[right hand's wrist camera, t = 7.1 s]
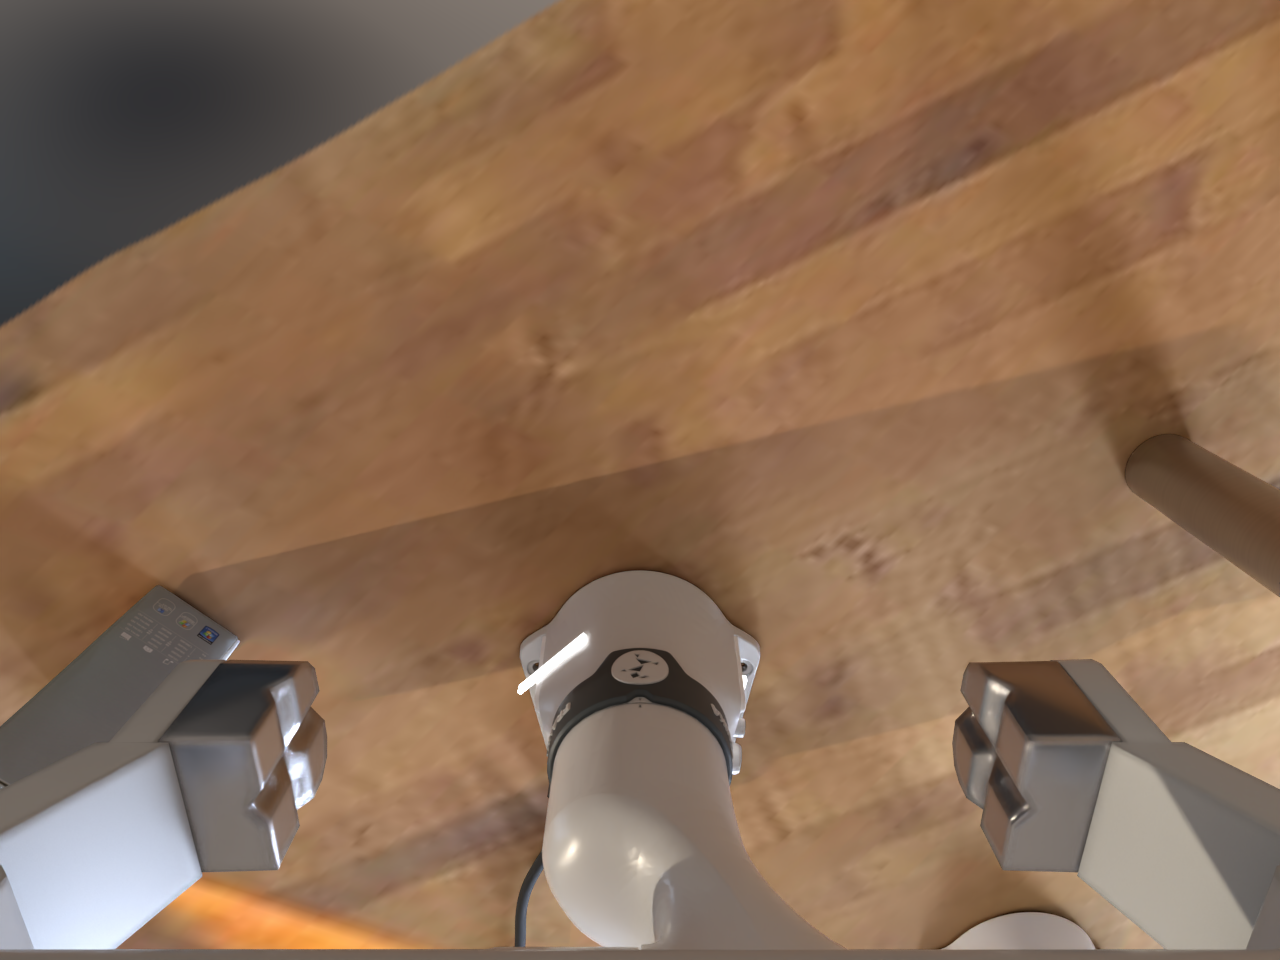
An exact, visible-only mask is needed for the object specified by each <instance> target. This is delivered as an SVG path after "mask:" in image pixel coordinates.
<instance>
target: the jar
mask: <svg viewBox="0 0 1280 960" xmlns="http://www.w3.org/2000/svg"><path fill="white" fill-rule="evenodd" d="M1125 478H1126V482H1127V485H1128V486H1129V488H1130V489H1131V491H1132V492H1133V493H1135V494H1136V495H1137V496H1139V497H1140V498H1142V499H1143V500H1144V501H1146V502H1147V503H1149V504H1150V505H1151V506H1153V507H1154V508H1156V509H1157V510H1158V511H1160V512H1161V513H1163V514H1164V515H1165V516H1167V517H1168V518H1170V519H1171V520H1172V521H1174V522H1175V523H1177V524H1178V525H1179V526H1181V527H1182V528H1184V529H1185V530H1186V531H1188V532H1189V533H1191V534H1192V535H1193V536H1195V537H1196V538H1198V539H1199V540H1200V541H1202V542H1203V543H1205V544H1206V545H1207V546H1209V547H1210V548H1212V549H1213V550H1214V551H1216V552H1217V553H1219V554H1220V555H1221V556H1223V557H1224V558H1226V559H1227V560H1228V561H1230V562H1231V563H1233V564H1234V565H1235V566H1237V567H1238V568H1240V569H1241V570H1242V571H1244V572H1245V573H1247V574H1248V575H1249V576H1251V577H1252V578H1254V579H1255V580H1256V581H1258V582H1259V583H1261V584H1262V585H1263V586H1265V587H1266V588H1268V589H1269V590H1270V591H1272V592H1273V593H1275V594H1276V595H1277V596H1279V597H1280V594H1279V593H1280V584H1279V583H1280V490H1279V489H1277V488H1275V487H1273V486H1272V485H1270V484H1268V483H1266V482H1264V481H1262V480H1261V479H1259V478H1257V477H1255V476H1253V475H1252V474H1250V473H1248V472H1246V471H1244V470H1242V469H1241V468H1239V467H1237V466H1235V465H1233V464H1231V463H1230V462H1228V461H1226V460H1224V459H1222V458H1220V457H1219V456H1217V455H1215V454H1213V453H1211V452H1209V451H1208V450H1206V449H1204V448H1202V447H1200V446H1198V445H1197V444H1195V443H1193V442H1191V441H1189V440H1187V439H1186V438H1184V437H1181V436H1179V435H1174V434H1165V435H1159V436H1156V437H1153V438H1151V439H1149V440H1147V441H1145V442H1144V443H1142V444H1141V445H1140V446H1139V447H1138V448H1137V449H1136V450H1135V451H1134V452H1133V453H1132V455H1131V456H1130V458H1129V460H1128V462H1127V465H1126V470H1125Z"/></svg>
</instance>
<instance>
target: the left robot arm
mask: <svg viewBox="0 0 1280 960" xmlns="http://www.w3.org/2000/svg"><path fill="white" fill-rule="evenodd" d="M978 949H1096V948H1095V947H1094V945H1093V943H1092V941H1091V939H1090V938H1089V936H1088V935H1087V934H1086V932H1085V931H1084V930H1083V929H1082V928H1080V927H1079V926H1078V925H1076V924H1075V923H1073V922H1072V921H1070V920H1068V919H1065V918H1063V917H1060V916H1057V915H1053V914H1047V913H1040V912H1021V913H1013V914H1007V915H1003V916H999V917H996V918H993V919H990V920H987V921H985V922H983V923H981V924H979V925H977V926H975V927H973V928H971V929H970V930H968V931H967V932H965V933H964V934H963V935H961V936H960V937H959V938H958V939H957V940H955V941H954V942H953V943H951V944H950V945H949V946H947V947H945V948H942V949H940V950H978Z"/></svg>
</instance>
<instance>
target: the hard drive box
mask: <svg viewBox="0 0 1280 960" xmlns="http://www.w3.org/2000/svg"><path fill="white" fill-rule="evenodd" d="M237 638H238V637H237V636H236V635H234V634H232V633H231V632H230V631H228V630H227V629H225V628H224V627H222V626H220V625H219V624H217V623H216V622H214V621H213V620H211V619H210V618H209V617H207V616H206V615H204V614H203V613H201V612H200V611H198V610H197V609H195V608H193V607H192V606H190V605H189V604H187V603H186V602H184V601H183V600H182V599H180V598H179V597H177V596H176V595H174V594H173V593H171V592H170V591H168V590H166V589H165V588H163V587H162V586H160V585H157V586H155V587H154V588H153V589H152V590H151V591H150V592H149V593H147V594H146V595H145V596H144V597H143V598H142V599H141V600H140V601H138V602H137V603H136V604H135V605H134V606H133V607H132V608H131V609H129V610H128V611H127V612H126V613H125V614H124V615H123V616H122V617H121V618H120V619H118V620H117V621H116V622H115V623H114V624H113V625H112V626H111V627H109V628H108V629H107V630H106V631H105V632H104V633H103V634H102V635H101V636H100V637H99V638H97V639H96V640H95V641H94V642H93V643H92V644H91V645H90V646H89V647H88V648H87V649H86V650H84V651H83V652H82V653H81V654H80V655H79V656H78V657H77V658H76V659H75V660H74V661H72V662H71V663H70V664H69V665H68V666H67V667H66V668H65V669H64V670H63V671H61V672H60V673H59V674H58V675H57V676H56V677H55V678H54V679H53V680H52V681H50V682H49V683H48V684H47V685H46V686H45V687H44V688H43V689H42V690H40V691H39V692H38V693H37V694H36V695H35V696H34V697H33V698H32V699H31V700H29V701H28V702H27V703H26V704H25V705H24V706H23V707H22V708H20V709H19V710H18V711H17V712H16V713H15V714H14V715H13V716H12V717H10V718H9V719H8V720H7V721H6V722H5V723H4V724H3V725H2V726H0V789H2V788H4V787H6V786H8V785H10V784H12V783H14V782H16V781H18V780H20V779H22V778H24V777H26V776H28V775H30V774H32V773H34V772H36V771H38V770H40V769H42V768H44V767H46V766H49V765H51V764H53V763H55V762H57V761H59V760H61V759H63V758H65V757H67V756H69V755H71V754H73V753H75V752H77V751H79V750H81V749H83V748H85V747H87V746H89V745H91V744H93V743H95V742H109V741H110V740H111V739H112V738H113V737H114V736H115V734H116V733H117V732H118V731H119V730H120V729H121V728H122V727H123V726H124V724H125V723H126V722H127V721H128V720H129V719H130V718H131V717H132V715H133V714H134V713H135V712H136V711H137V710H138V709H139V708H140V706H141V705H142V704H143V703H144V702H145V701H146V700H147V699H148V698H149V696H150V695H151V694H152V693H153V692H154V691H155V690H156V689H157V687H158V686H159V685H160V684H161V683H162V682H163V681H164V680H165V678H166V677H167V676H168V675H169V674H170V673H171V672H172V671H173V669H174V668H175V667H176V666H177V665H178V664H179V663H181V662H184V661H188V660H226V659H227V658H228V657H229V656H230V654H231V653H232V652H233V651H234V649H235V648H236V647H237V645H238V644H239V642H240V641H239V640H238V639H237Z"/></svg>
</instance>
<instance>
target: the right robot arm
mask: <svg viewBox="0 0 1280 960" xmlns="http://www.w3.org/2000/svg"><path fill="white" fill-rule="evenodd" d="M520 660H521V663H522V667H523V670H524V674H525V677H526V680H525V681H524V682H522V683H521V684H520V685H519V688H518V693H519V694H520V695H521V694H522V693H523V692H525V691H526V690H527V689H528V688H529V690H530V694H531V697H532V701H533V704H534V707H535V711H536V714H537V717H538V721H539V724H540V728H541V731H542V734H543V738H544V741H545V745H546V748H547V756H548V761H547V773H548V779H549V789H548V798H549V802H548V809H547V817H546V824H545V832H544V839H543V846H542V851H541V852H540V854H539V855H538V857H537V859H536V860H535V862H534V863H533V865H532V867H531V868H530V870H529V872H528V874H527V875H526V877H525V879H524V882H523V884H522V887H521V890H520V893H519V897H518V902H517V908H516V917H515V947H494V948H489V949H217V950H151V949H116V948H117V947H118V946H119V945H120V944H122V943H123V942H124V941H125V940H126V939H128V938H129V937H130V936H131V935H132V934H134V933H135V932H136V931H137V930H138V929H140V928H141V927H142V926H143V925H144V924H146V923H147V922H148V921H149V920H150V919H152V918H153V917H154V916H155V915H156V914H158V913H159V912H160V911H161V910H162V909H164V908H165V907H166V906H167V905H168V904H170V903H171V902H172V901H173V900H174V899H176V898H177V897H178V896H179V895H180V894H182V893H183V892H184V891H185V890H186V889H188V888H189V887H190V886H191V885H192V884H194V883H195V882H196V881H197V880H198V879H200V878H201V877H202V872H228V871H263V870H278V868H279V866H280V864H281V862H282V860H283V858H284V856H285V854H286V852H287V850H288V848H289V846H290V844H291V842H292V840H293V838H294V836H295V834H296V832H297V830H298V828H299V826H300V825H299V820H298V814H297V809H298V808H300V807H301V806H303V805H304V804H305V803H307V802H308V801H310V800H311V799H313V798H314V796H315V794H316V792H317V789H318V787H319V785H320V783H321V781H322V777H323V773H324V768H325V763H326V759H327V733H326V727H325V720H324V719H323V718H322V717H321V716H320V715H319V714H318V713H317V712H316V711H315V710H314V709H313V708H312V707H311V705H312V703H313V701H314V699H315V698H316V696H317V694H318V692H319V686H318V681H317V677H316V672H315V668H314V667H313V666H312V665H311V664H310V663H309V662H308V661H264V660H228V661H227V660H188V661H184V662H181V663H179V664H178V665H177V666H176V667H175V668H174V669H173V671H172V672H171V673H170V674H169V675H168V676H167V677H166V678H165V680H164V681H163V682H162V683H161V684H160V685H159V686H158V687H157V689H156V690H155V691H154V692H153V693H152V694H151V695H150V696H149V698H148V699H147V700H146V701H145V702H144V703H143V704H142V705H141V706H140V708H139V709H138V710H137V711H136V712H135V713H134V714H133V715H132V717H131V718H130V719H129V720H128V721H127V722H126V723H125V724H124V726H123V727H122V728H121V729H120V730H119V731H118V732H117V733H116V734H115V736H114V737H113V738H112V739H111V740H110V741H109V742H95V743H93V744H91V745H89V746H87V747H85V748H83V749H81V750H79V751H77V752H75V753H73V754H71V755H69V756H67V757H65V758H63V759H61V760H59V761H57V762H55V763H53V764H51V765H49V766H46V767H44V768H42V769H40V770H38V771H36V772H34V773H32V774H30V775H28V776H26V777H24V778H22V779H20V780H18V781H16V782H14V783H12V784H10V785H8V786H6V787H4V788H2V789H0V960H1280V789H1278V788H1276V787H1274V786H1272V785H1270V784H1268V783H1266V782H1264V781H1262V780H1260V779H1258V778H1256V777H1254V776H1252V775H1250V774H1248V773H1245V772H1243V771H1241V770H1239V769H1237V768H1235V767H1233V766H1231V765H1229V764H1227V763H1225V762H1223V761H1221V760H1219V759H1217V758H1215V757H1213V756H1211V755H1209V754H1207V753H1205V752H1203V751H1201V750H1199V749H1197V748H1195V747H1193V746H1191V745H1189V744H1187V743H1185V742H1171V741H1170V740H1169V739H1168V738H1167V737H1166V736H1165V735H1164V733H1163V732H1162V731H1161V730H1160V729H1159V728H1158V727H1157V726H1156V724H1155V723H1154V722H1153V721H1152V720H1151V719H1150V718H1149V717H1148V715H1147V714H1146V713H1145V712H1144V711H1143V710H1142V709H1141V708H1140V706H1139V705H1138V704H1137V703H1136V702H1135V701H1134V700H1133V699H1132V698H1131V696H1130V695H1129V694H1128V693H1127V692H1126V691H1125V690H1124V689H1123V687H1122V686H1121V685H1120V684H1119V683H1118V682H1117V681H1116V680H1115V678H1114V677H1113V676H1112V675H1111V674H1110V673H1109V672H1108V671H1107V669H1106V668H1105V667H1104V666H1103V665H1102V664H1101V663H1099V662H1097V661H1094V660H1092V659H1078V660H1051V661H1029V662H973V663H969V664H968V666H967V668H966V670H965V672H964V675H963V680H962V685H961V692H962V694H963V696H964V698H965V699H966V701H967V703H968V705H969V707H968V708H967V709H966V710H965V711H964V712H963V713H962V714H961V715H960V716H959V717H958V718H957V719H956V720H955V728H954V735H953V743H952V744H953V756H954V766H955V770H956V773H957V777H958V780H959V783H960V785H961V787H962V790H963V792H964V794H965V796H966V798H967V799H969V800H970V801H972V802H973V803H975V804H976V805H977V806H979V807H980V808H982V809H983V814H982V820H981V825H980V826H981V828H982V830H983V832H984V834H985V836H986V838H987V840H988V842H989V844H990V846H991V848H992V850H993V852H994V854H995V856H996V858H997V860H998V862H999V864H1000V866H1001V868H1002V870H1015V871H1051V872H1078V875H1077V876H1078V877H1080V878H1081V879H1082V880H1083V881H1084V882H1086V883H1087V884H1088V885H1089V886H1090V887H1092V888H1093V889H1094V890H1095V891H1096V892H1098V893H1099V894H1100V895H1101V896H1102V897H1104V898H1105V899H1106V900H1107V901H1108V902H1109V903H1111V904H1112V905H1113V906H1114V907H1115V908H1117V909H1118V910H1119V911H1120V912H1121V913H1123V914H1124V915H1125V916H1126V917H1127V918H1129V919H1130V920H1131V921H1132V922H1133V923H1135V924H1136V925H1137V926H1138V927H1139V928H1141V929H1142V930H1143V931H1144V932H1145V933H1147V934H1148V935H1149V936H1150V937H1151V938H1153V939H1154V940H1155V941H1156V942H1157V943H1159V944H1160V945H1161V946H1162V947H1163V948H1165V949H978V950H848V949H846V948H844V947H843V946H841V945H839V944H838V943H836V942H834V941H833V940H831V939H830V938H828V937H827V936H825V935H824V934H823V933H821V932H820V931H819V930H817V929H816V928H814V927H813V926H812V925H811V924H809V923H808V922H807V921H806V920H805V919H803V918H802V917H801V916H800V915H799V914H797V913H796V912H795V911H794V910H793V909H792V908H791V907H790V906H789V905H788V904H787V903H786V902H785V901H784V900H783V899H782V898H781V897H780V896H779V895H778V894H777V893H776V892H775V890H774V889H773V888H772V887H771V886H770V885H769V884H768V883H767V881H766V880H765V879H764V878H763V876H762V875H761V874H760V873H759V871H758V870H757V868H756V867H755V865H754V864H753V862H752V861H751V859H750V857H749V855H748V853H747V851H746V850H745V847H744V845H743V842H742V839H741V835H740V832H739V828H738V824H737V820H736V816H735V812H734V807H733V803H732V797H731V792H730V784H731V779H732V774H733V775H736V774H738V773H739V771H740V768H741V761H742V748H741V745H739V744H738V743H735V741H736V738H737V737H741V738H742V737H744V734H745V727H746V723H745V719H743V714H744V711H745V707H746V704H747V701H748V697H749V694H750V691H751V687H752V684H753V680H754V677H755V674H756V670H757V667H758V664H759V660H760V646H759V644H758V642H757V641H756V640H755V639H754V638H753V637H752V636H750V635H749V634H747V633H746V632H744V631H742V630H741V629H739V628H737V627H735V626H733V625H732V624H731V623H730V622H729V621H728V620H727V619H726V618H725V616H724V615H723V613H722V612H721V611H720V609H719V608H718V606H717V605H716V604H715V603H714V602H713V600H712V599H711V598H710V597H709V596H708V595H706V594H705V593H704V592H703V591H702V590H700V589H699V588H698V587H696V586H694V585H693V584H691V583H689V582H687V581H685V580H683V579H681V578H678V577H676V576H673V575H669V574H666V573H661V572H655V571H645V570H635V571H625V572H619V573H614V574H611V575H607V576H604V577H602V578H599V579H597V580H595V581H593V582H591V583H589V584H587V585H586V586H584V587H583V588H581V589H580V590H578V591H577V592H576V593H575V594H574V595H572V596H571V597H570V598H569V599H568V600H567V602H566V603H565V604H564V605H563V606H562V608H561V609H560V611H559V612H558V613H557V615H556V616H555V618H554V619H553V620H552V621H551V622H550V623H549V624H548V625H547V626H545V627H543V628H541V629H540V630H538V631H536V632H534V633H533V634H531V635H530V636H528V637H527V638H526V639H525V640H524V641H523V642H522V644H521V646H520ZM535 663H539V667H538V666H536V665H535ZM741 663H745V665H744V666H742V667H741ZM543 869H544V872H545V876H546V879H547V882H548V885H549V887H550V889H551V891H552V893H553V895H554V897H555V898H556V900H557V902H558V903H559V905H560V907H561V908H562V909H563V911H564V912H565V914H566V915H567V916H568V918H569V919H570V920H571V921H572V923H573V924H574V925H575V926H576V927H577V928H578V929H579V930H580V931H581V932H582V933H584V934H585V935H586V936H587V937H589V938H590V939H592V940H593V941H595V942H597V943H598V944H600V945H601V946H603V947H525V942H526V912H527V906H528V901H529V897H530V894H531V891H532V889H533V887H534V884H535V882H536V880H537V879H538V877H539V875H540V873H541V872H542V870H543Z"/></svg>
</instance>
